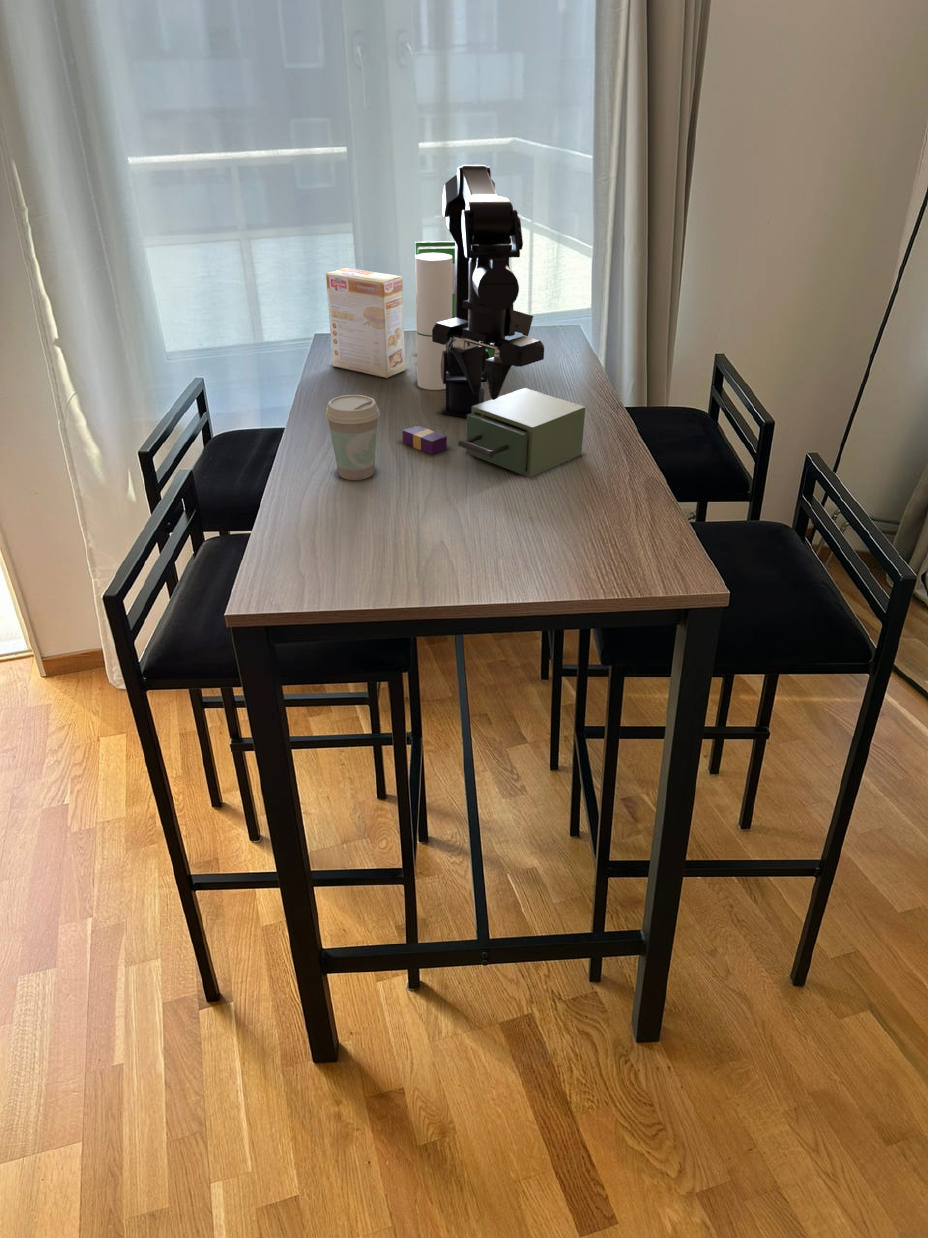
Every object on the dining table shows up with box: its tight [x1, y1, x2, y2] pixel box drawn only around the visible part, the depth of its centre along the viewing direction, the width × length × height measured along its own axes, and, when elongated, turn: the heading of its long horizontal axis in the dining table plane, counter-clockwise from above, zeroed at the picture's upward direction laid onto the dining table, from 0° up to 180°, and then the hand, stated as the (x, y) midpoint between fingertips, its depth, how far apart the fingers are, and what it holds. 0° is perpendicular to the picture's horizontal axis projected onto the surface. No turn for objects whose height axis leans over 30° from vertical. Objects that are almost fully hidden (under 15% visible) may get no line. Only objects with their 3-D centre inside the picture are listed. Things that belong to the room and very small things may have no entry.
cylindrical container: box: [414, 253, 452, 391], centre depth 178 cm, size 7×7×25 cm
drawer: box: [457, 413, 529, 475], centre depth 149 cm, size 17×12×7 cm
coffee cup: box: [325, 394, 381, 481], centre depth 143 cm, size 8×8×12 cm
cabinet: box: [472, 387, 586, 478], centre depth 151 cm, size 14×14×9 cm
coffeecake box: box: [325, 267, 406, 379], centre depth 187 cm, size 15×7×20 cm, turn 58°
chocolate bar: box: [402, 424, 448, 455], centre depth 156 cm, size 8×4×2 cm, turn 46°
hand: (485, 395), depth 140 cm, fingers open, 4 cm apart
